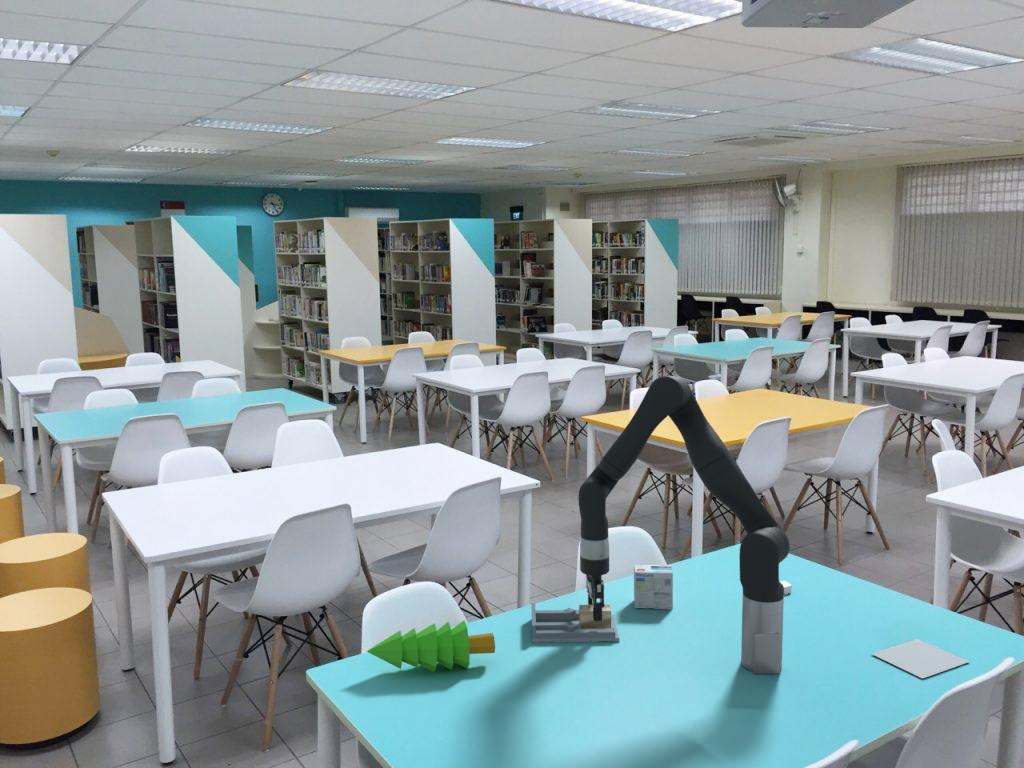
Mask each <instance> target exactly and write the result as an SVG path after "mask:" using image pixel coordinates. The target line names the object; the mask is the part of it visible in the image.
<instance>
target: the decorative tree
mask: <svg viewBox="0 0 1024 768" xmlns="http://www.w3.org/2000/svg"><path fill="white" fill-rule="evenodd" d="M468 633H469V632H468V626H467V623H466V622H465V620H462V621H461V622H460V623H458V624H457V625H456V626H455V627H451V624H450V622H449V621H447V622H445V624H443V625H442V626H441V627H440V628H439V629H437V626H436V623H432V624H431V625H429V626H427V627H426V628H423V629H422V630H420V631H419V632H416V628H415V627H414V628H412V629H411V630H409V631H408V632H407V633H405V634H403V635H402V630H399V631H397V632H395V633H394V634H392V635H391V636H389V637H387V638H386V639H384V640H382V641H381V642H379V643H377V644H376V645H373V646H372V647H371V648H369V649H368V650H366V652H367V653H369V654H370V655H373V656H375V657H377V658H379V659H380V660H383V661H384V662H386V663H388V664H391V665H392V666H394V667H396V668H398V669H400V670H402V665H403V663H405V664H408V665H409V666H412V667H415V668H418V667H419V665H420V666H421V667H424V668H425V669H426V670H429V671H430V672H433V673H436V669H437V663H438V664H440V665H441V666H443V667H444V668H447V669H448V670H450V671H452V670H453V666H454V664H456V665H458V666H460V667H463V668H465V669H466V670H468V669H469V666H470V659H471V658H470V657H471V656H470V655H475V654H477V655H480V654H481V655H482V654H495V653H496V639H495V635H494V633H493V632H489V633H482V634H472V635H469V634H468Z"/></svg>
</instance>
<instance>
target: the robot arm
mask: <svg viewBox="0 0 1024 768" xmlns="http://www.w3.org/2000/svg"><path fill="white" fill-rule="evenodd" d="M667 417H668V418H670V420H671V421H672V422H673V424H674V425H675V427H676V428H677V429H678V431H679V433H680V435H681V437H682V439H683V441H684V444H685V449H686V451H687V454H688V457H689V459H690V462H691V464H692V467H693V469H694V470H695V471H696V473H697V475H698V477H699V479H700V480H701V482H702V484H704V486H705V487H706V488H705V489H707V490H708V492H709V493H710V494H712V496H714V498H716V499H717V500H718V501H719V502H721V503H722V504H723V505H724V506H725V507H727V508H728V509H729V510H730V511H731V512H732V513H733V514H734V515H735V516H736V517H737V519H738V520H739V522H740V523H741V525H742V527H743V528H744V530H745V532H746V535H744V537H743V538H742V540H741V542H740V545H739V580H740V583H741V584H740V585H741V586H742V606H741V607H742V608H741V609H742V611H741V649H740V650H741V652H740V653H741V655H740V657H741V660H740V662H741V666H743V667H744V668H745V669H747V670H748V671H751V672H752V673H753V674H781V670H782V668H783V667H782V666H783V638H784V637H783V634H784V630H783V629H784V628H783V627H784V603H785V602H784V600H785V599H784V598H785V595H784V586H783V584H782V583H781V581H780V574H779V573H780V564H781V562H783V561H784V560H785V559H786V558H787V557H788V555H789V553H790V550H791V549H790V547H791V546H790V545H791V544H790V540H789V538H788V536H787V534H786V533H785V531H784V530H783V528H782V527H781V525H780V524H779V523H778V522H777V520H776V519H775V518H774V517H773V515H772V514H771V512H769V511H768V509H767V508H766V506H765V505H764V503H763V502H762V501H761V499H760V498H759V497H758V494H757V493H756V492H755V490H754V488H753V487H752V485H751V484H750V482H749V480H748V479H747V478H746V476H745V474H744V473H743V471H742V469H741V468H740V466H739V465H738V463H737V461H736V460H735V458H734V456H733V455H732V453H731V451H730V450H729V449H728V447H727V446H726V444H724V441H723V440H722V439H721V438H720V435H719V434H718V432H716V431H715V429H714V428H713V426H712V425H711V424H710V422H709V421H708V419H707V417H706V416H705V414H704V412H703V411H702V409H701V407H700V404H699V403H698V401H697V399H696V397H695V395H694V392H693V390H692V388H691V387H690V385H689V384H688V382H687V381H686V380H685V379H683V378H681V377H680V376H677V375H663V376H662V375H661V376H659V377H657V378H655V379H654V380H653V381H652V383H651V384H650V386H649V387H648V388H647V391H646V393H645V394H644V396H643V398H642V400H641V402H640V404H639V406H638V408H637V410H636V411H635V413H634V415H633V416H632V417H631V419H630V420H629V422H628V424H627V426H625V428H624V429H623V431H622V432H621V434H619V435H618V437H617V438H616V439H615V440H614V442H613V444H612V445H611V446H610V447H609V448H608V450H607V451H606V453H605V454H604V455H603V457H602V459H601V460H600V462H599V464H598V465H597V466H596V467H595V468H594V469H593V471H592V472H591V473H590V474H589V475H588V477H587V478H586V479H585V480H584V482H582V484H581V485H580V487H579V488H578V489H579V490H578V497H577V498H578V509H579V516H580V540H579V541H580V542H579V561H580V562H579V570H580V573H582V574H584V575H585V588H586V592H587V605H592V606H593V620H594V621H601V620H602V607H604V605H605V585H604V580H603V577H602V576H603V575H607V574H608V573H609V572H610V541H609V520H608V517H607V515H606V512H607V510H606V507H607V506H606V504H607V498H608V497H609V495H610V494H611V493H612V491H613V490H614V489H615V487H616V485H617V484H618V483H619V481H620V480H621V479H623V477H625V475H626V474H627V473H628V472H629V470H630V469H631V468H632V467H633V465H634V464H635V462H637V460H638V459H639V457H640V455H641V453H642V452H643V450H644V448H645V446H646V444H647V443H648V440H649V438H650V437H651V436H652V434H653V433H654V431H655V430H656V429H657V427H659V425H660V424H661V423H662V422H663V421H664V420H665V419H666V418H667ZM598 599H599V601H597V600H598Z"/></svg>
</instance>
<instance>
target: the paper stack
mask: <svg viewBox="0 0 1024 768" xmlns="http://www.w3.org/2000/svg"><path fill="white" fill-rule="evenodd" d="M871 655H873V656H875V657H877V658H879V659H881V660H882V661H885V662H888V663H889V664H891V665H894V666H896V667H898V668H900V669H901V670H904V671H906V672H908V673H910V674H912V675H914V676H916V677H919V678H920V679H924V678H925V679H926V678H928V677H931V676H933V675H937V674H940V673H942V672H945V671H948V670H951V669H953V668H957V667H959V666H963V665H965V664H967V663H970V661H969V660H967V659H964V658H962V657H960V656H957V655H955V654H953V653H951V652H948V651H946V650H943V649H941V648H939V647H937V646H935V645H933V644H930V643H927V642H925V641H923V640H921V639H918V638H915V639H912V640H910V641H907V642H904V643H900V644H897V645H894V646H890V647H889V648H885V649H881V650H879V651H875V652H872V653H871Z"/></svg>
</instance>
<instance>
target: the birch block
mask: <svg viewBox="0 0 1024 768" xmlns="http://www.w3.org/2000/svg"><path fill="white" fill-rule="evenodd" d="M578 610H579V624H580V629H585V628H611V615H612V609H611V605H610V604H609V603H608V604H604V607H602V620H601V621H594V620H593V606H592V605H588V604H579V605H578Z"/></svg>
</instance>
